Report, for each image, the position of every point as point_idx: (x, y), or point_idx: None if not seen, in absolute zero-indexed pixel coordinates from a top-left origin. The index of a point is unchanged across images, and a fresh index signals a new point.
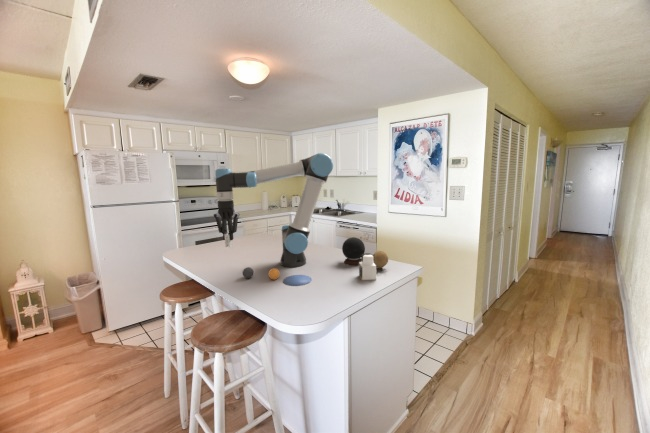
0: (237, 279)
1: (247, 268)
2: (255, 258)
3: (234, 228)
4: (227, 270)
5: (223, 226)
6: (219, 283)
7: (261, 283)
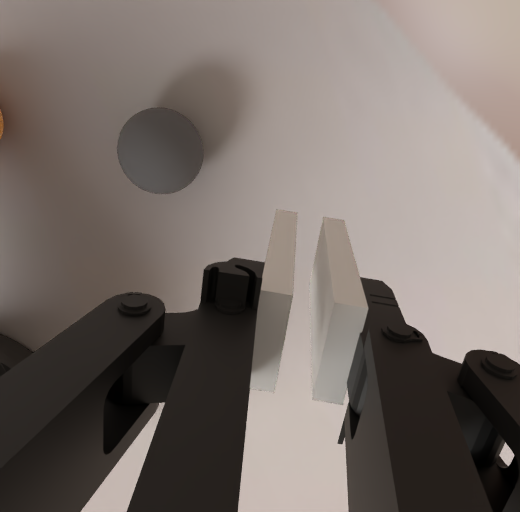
0: (242, 117)
1: (144, 142)
2: (259, 496)
3: (43, 347)
4: None
5: (422, 461)
6: (352, 33)
7: (36, 30)
